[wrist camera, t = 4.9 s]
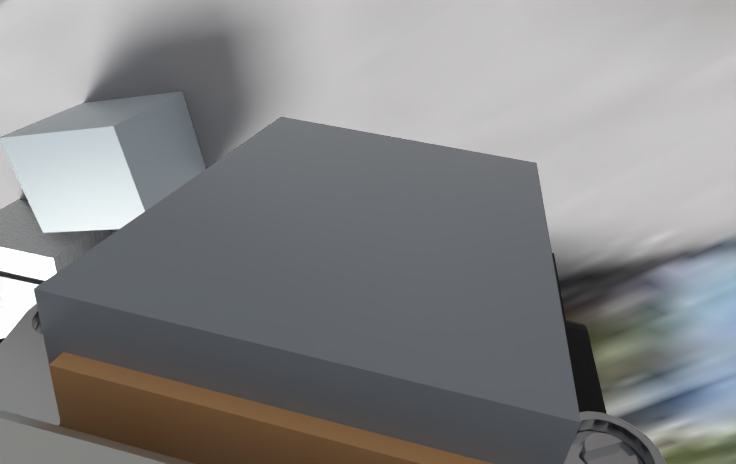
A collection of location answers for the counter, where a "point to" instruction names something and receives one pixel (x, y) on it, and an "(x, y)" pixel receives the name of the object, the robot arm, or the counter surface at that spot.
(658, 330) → the counter surface
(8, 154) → the block
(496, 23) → the counter surface
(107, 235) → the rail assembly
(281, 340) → the module block
